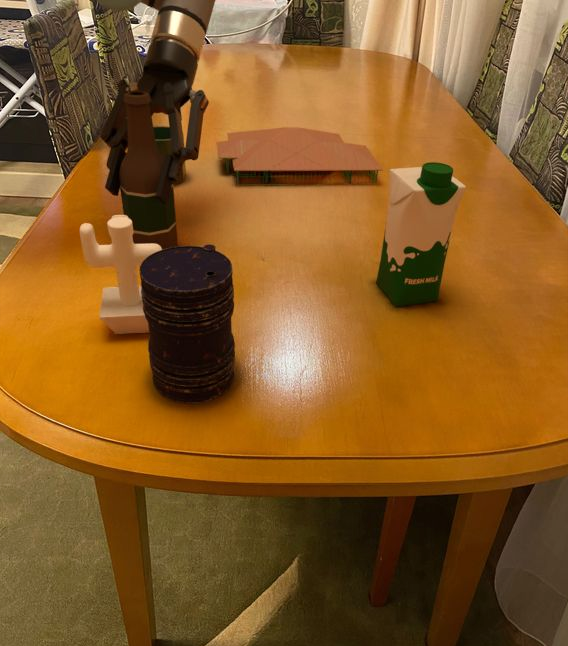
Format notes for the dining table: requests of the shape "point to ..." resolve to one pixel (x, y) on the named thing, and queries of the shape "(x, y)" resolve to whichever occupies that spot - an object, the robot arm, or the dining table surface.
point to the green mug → (167, 147)
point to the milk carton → (418, 232)
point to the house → (295, 153)
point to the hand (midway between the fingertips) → (136, 195)
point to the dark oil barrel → (189, 322)
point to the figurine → (119, 274)
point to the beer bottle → (145, 178)
